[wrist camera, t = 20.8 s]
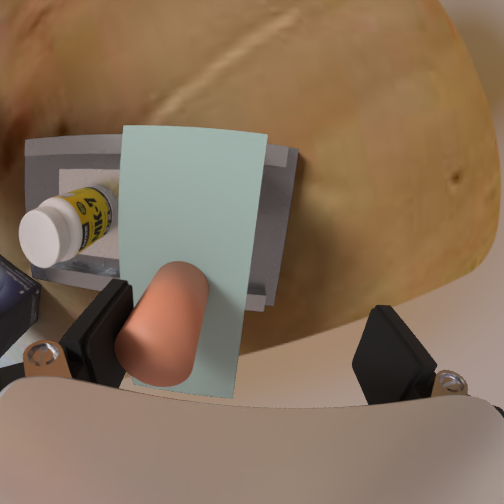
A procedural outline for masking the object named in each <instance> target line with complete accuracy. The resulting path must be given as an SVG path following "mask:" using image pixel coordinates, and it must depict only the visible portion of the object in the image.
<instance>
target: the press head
mask: <svg viewBox="0 0 504 504" xmlns="http://www.w3.org/2000/svg"><path fill="white" fill-rule="evenodd" d="M267 136H268V135H267V134H260V133H252V132H243V131H234V130H223V129H212V128H198V127H180V126H148V125H124V126H123V136H122V147H121V160H120V177H119V207H118V236H119V266H120V279H121V280H127V281H128V284H129V285H132V287H133V301H134V309H133V310H132V312H131V314H130V315H129V317H128V319H127V320H126V322H125V324H124V325H123V327H122V329H121V330H120V332H119V334H118V335H117V337H116V339H115V345H114V349H115V354H116V357H117V359H118V361H119V363H120V364H121V366H122V367H123V368H124V369H125V370H126V371H127V372H128V373H129V374H130V375H131V376H132V381H133V384H134V385H140V386H145V387H150V388H155V389H161V390H167V391H173V392H180V393H187V394H195V395H203V396H211V397H222V398H233V394H234V387H235V379H236V372H237V364H238V356H239V349H240V341H241V334H242V326H243V319H244V311H245V303H246V296H247V288H248V281H249V273H250V266H251V258H252V250H253V243H254V235H255V228H256V220H257V212H258V205H259V197H260V190H261V182H262V174H263V167H264V159H265V152H266V144H267Z"/></svg>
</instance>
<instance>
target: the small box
mask: <svg viewBox="0 0 504 504" xmlns="http://www.w3.org/2000/svg"><path fill="white" fill-rule="evenodd" d="M40 288H41V285H40V284H38V283H37V282H36V281H34V280H33V279H31V278H30V277H28V276H27V275H26V274H24V273H23V272H22V271H20V270H19V269H18V268H16V267H15V266H14V265H12V264H11V263H10V262H8V261H7V260H6V259H5V258H3V257H2V256H1V255H0V358H1V357H2V356H3V355H4V354H5V352H6V351H7V350H8V349H9V348H10V347H11V346H12V345H13V344H14V343H15V342H16V341H17V340H18V339H19V338H20V337H21V336H22V335H23V334H24V333H25V332H26V331H27V330H28V329H29V328H30V327H31V326H32V325H33V324H34V323H36V322H37V314H38V304H39V298H40Z"/></svg>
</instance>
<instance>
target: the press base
mask: <svg viewBox="0 0 504 504" xmlns="http://www.w3.org/2000/svg"><path fill="white" fill-rule="evenodd" d="M122 136H123V134H100V135H76V136H60V137H48V138H37V139H28V140H25V155H24V156H25V208H26V214H27V213H28V212H29V211H31V210H34V209H36V208H38V207H39V205H40V204H41V203H42V202H43V201H45V200H47V199H49V198H51V197H55V196H58V195H61V194H64V193H68V192H71V191H74V190H78V189H81V188H85V187H95V188H98V189H100V190H102V191H103V192H104V193H105V194H106V195H107V196H108V198H109V199H110V201H111V204H112V207H113V212H114V218H113V223H112V226H111V228H110V230H109V231H108V232H107V234H106V235H104V236H103V237H102V238H101V239H99V240H97V241H96V242H95V243H93V244H92V245H90V246H89V247H87V248H86V249H84V250H83V251H82V252H80V253H79V254H77V255H76V256H75V257H73V258H72V259H70V260H67V261H64V262H57V263H56V264H54V265H53V266H51V267H48V268H40V267H37V266H35V265H34V264H32V263H31V271H32V277H33V278H36V279H41V280H45V281H50V282H55V283H60V284H65V285H70V286H76V287H81V288H87V289H92V290H98V291H102V290H103V289H104V288H105V286H106V285H107V284H108V283H109V282H110V281H111V280H112V279H113V278H114V279H120V266H119V236H118V207H119V177H120V160H121V147H122ZM298 151H299V149H295V148H289V147H286V146H279V145H272V144H266V152H265V159H264V167H263V174H262V182H261V190H260V197H259V205H258V212H257V220H256V228H255V235H254V243H253V250H252V258H251V266H250V273H249V281H248V288H247V296H246V303H245V310H249V311H260V312H264V307H265V305H268V306H274V301H275V296H276V290H277V284H278V279H279V273H280V267H281V261H282V255H283V249H284V243H285V237H286V231H287V225H288V218H289V212H290V206H291V199H292V193H293V186H294V179H295V172H296V165H297V158H298Z"/></svg>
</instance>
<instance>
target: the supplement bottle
mask: <svg viewBox="0 0 504 504" xmlns="http://www.w3.org/2000/svg"><path fill="white" fill-rule="evenodd" d="M113 218H114V212H113V207H112V204H111V201H110V199H109V198H108V196H107V195H106V194H105V193H104V192H103V191H102V190H100V189H98V188H95V187H85V188H81V189H78V190H74V191H71V192H68V193H64V194H61V195H58V196H55V197H51V198H49V199H47V200H45V201H43V202H42V203H41V204H40V205H39V207H38V208H36V209H34V210H31V211H29V212H28V213H27V214H25V216H24V217H23V218H22V220H21V223H20V226H19V241H20V245H21V248H22V250H23V252H24V254H25V256H26V257H27V259H28V260H29V261H30V262H31V263H32V264H34V265H35V266H37V267H40V268H48V267H51V266H53V265H54V264H56V263H57V262H64V261H67V260H70V259H72V258H73V257H75V256H76V255H77V254H79V253H80V252H82V251H83V250H84V249H86V248H87V247H89V246H90V245H92V244H93V243H95V242H96V241H97V240H99V239H101V238H102V237H103V236H104V235H106V234H107V232H108V231H109V230H110V228H111V226H112V223H113Z"/></svg>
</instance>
